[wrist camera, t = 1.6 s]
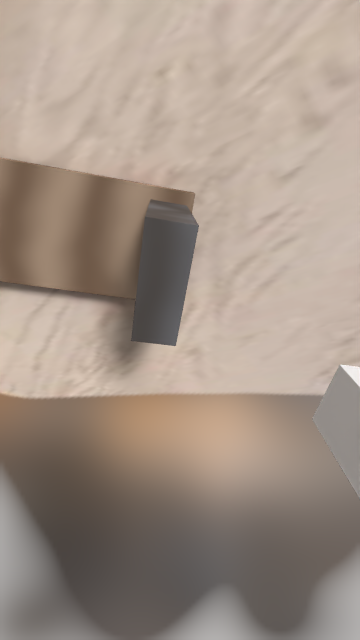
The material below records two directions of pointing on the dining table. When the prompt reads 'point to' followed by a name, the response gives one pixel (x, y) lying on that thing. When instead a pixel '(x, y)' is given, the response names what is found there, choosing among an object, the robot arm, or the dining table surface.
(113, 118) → the dining table surface
